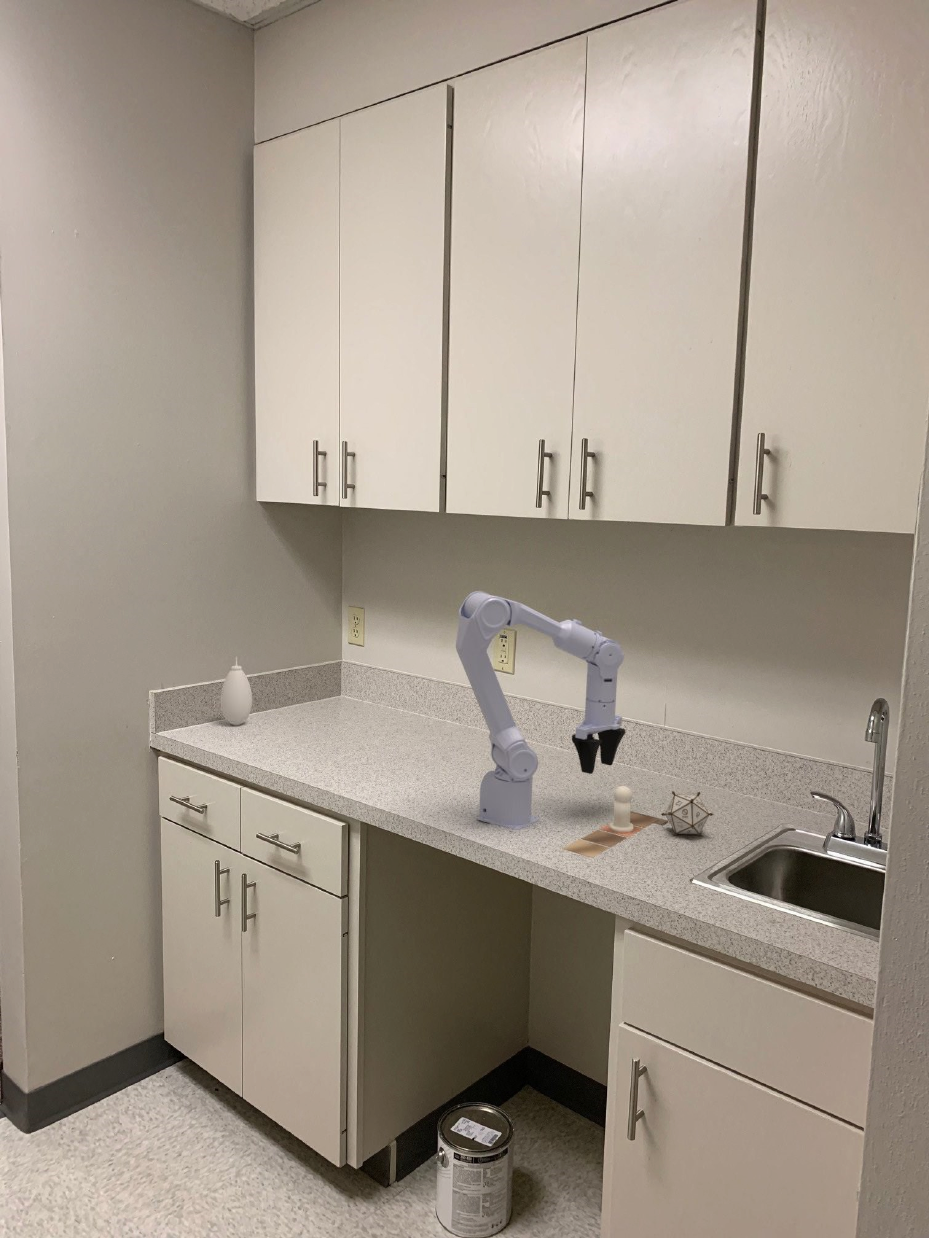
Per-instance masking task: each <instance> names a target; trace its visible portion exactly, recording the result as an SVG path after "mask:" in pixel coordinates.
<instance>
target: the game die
mask: <svg viewBox="0 0 929 1238" xmlns="http://www.w3.org/2000/svg"><path fill="white" fill-rule="evenodd" d="M671 795H673V796H672V799H671V801H670V802H669V805H668V807H667V809H666V812H662V813H661V814H660V815H661V816H662V817H663V816H665V817H666V819H667V820H668V823H669V824H670V826H671V828H672V830H673V832H674V833H673V837H677V836H678V835H698V837H703V835H702V834H701V832H702V830H703V828H704V827H705V824H706V823H707V820H708V818H709V817H713V816H714V813H713V812H710V813H709V812H708V811H709V810H708V809H707V808H706V805H705V804H704V803H703V800H701V798H700V795H701V791H698V792H697V793H696V794H676V792H675V791H674V790H671Z"/></svg>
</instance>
